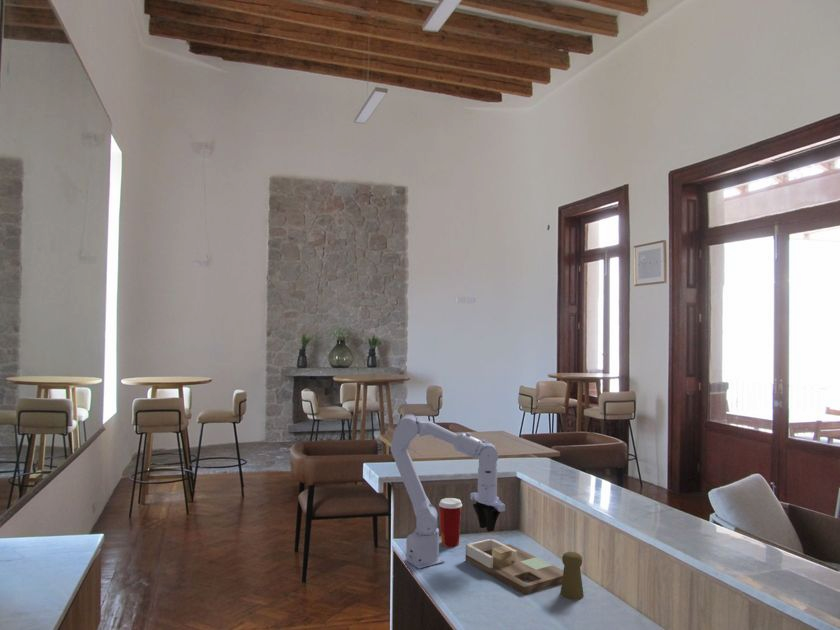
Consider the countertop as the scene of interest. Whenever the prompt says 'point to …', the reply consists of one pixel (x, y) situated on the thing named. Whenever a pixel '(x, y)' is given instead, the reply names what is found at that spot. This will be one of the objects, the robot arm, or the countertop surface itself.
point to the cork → (572, 576)
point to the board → (522, 573)
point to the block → (502, 556)
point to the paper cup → (450, 521)
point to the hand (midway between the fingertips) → (487, 529)
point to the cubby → (479, 547)
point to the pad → (536, 563)
